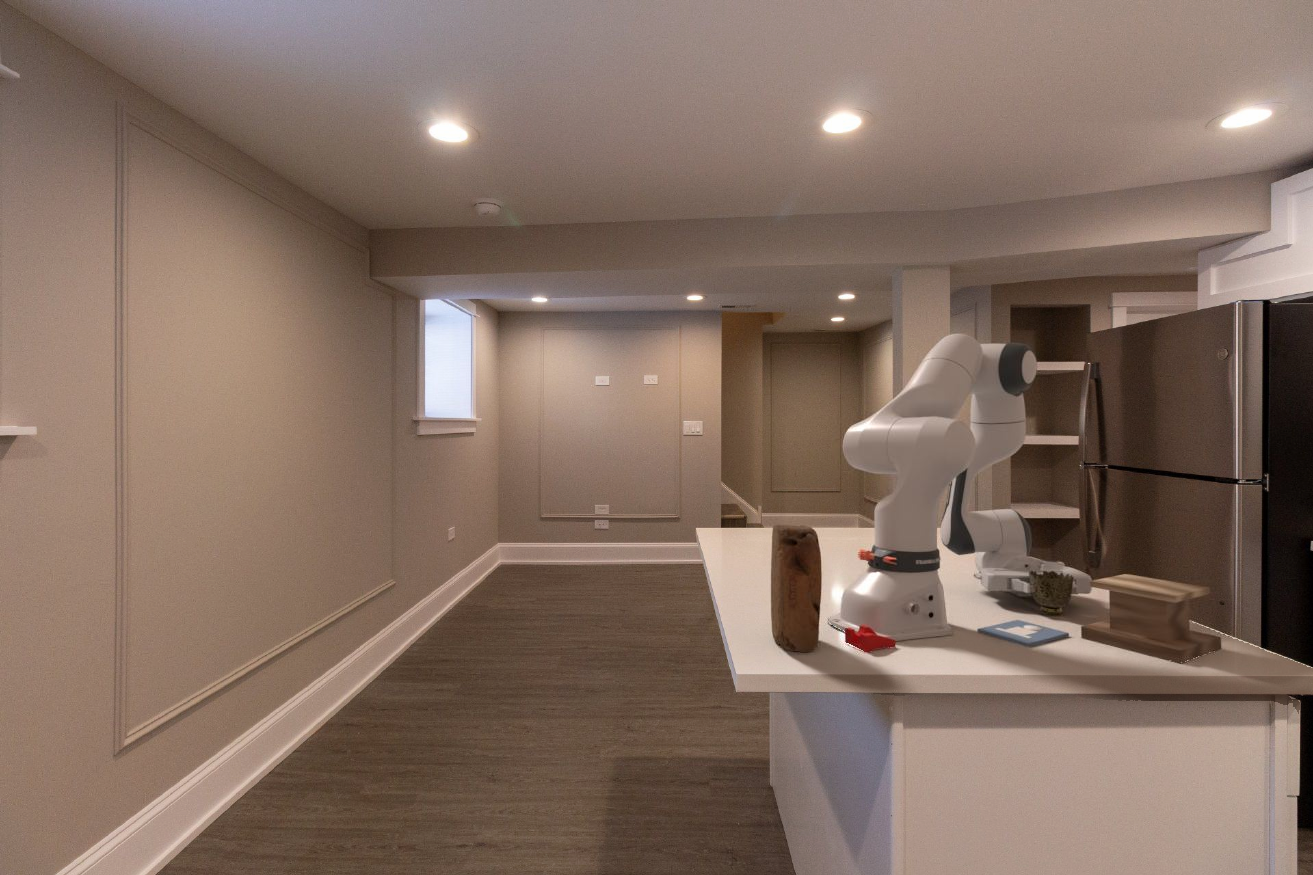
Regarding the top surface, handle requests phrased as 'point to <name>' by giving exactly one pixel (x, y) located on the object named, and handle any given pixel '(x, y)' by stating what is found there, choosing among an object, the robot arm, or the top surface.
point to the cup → (1051, 591)
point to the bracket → (867, 639)
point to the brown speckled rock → (795, 587)
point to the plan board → (1023, 633)
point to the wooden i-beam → (1151, 618)
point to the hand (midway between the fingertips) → (1053, 589)
